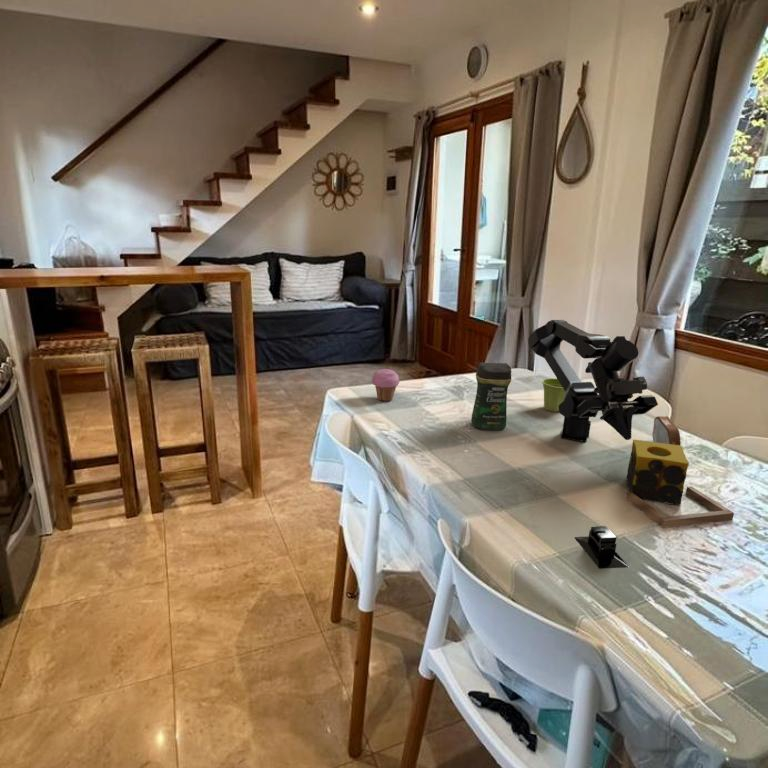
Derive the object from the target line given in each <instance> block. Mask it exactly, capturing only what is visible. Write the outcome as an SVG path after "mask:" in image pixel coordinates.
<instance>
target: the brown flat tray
mask: <svg viewBox="0 0 768 768" xmlns="http://www.w3.org/2000/svg"><path fill="white" fill-rule="evenodd" d="M685 494H686V495H688V496H690V497H691V498H693V499H694V500H696V501H697V502H699V503H700V504H702V505H703V506H705V507H707V508H708V509H709V510H711V511H707V512H697V513H690V514H679V515H670V516H665V515H663V514H662V513H661V512H659V511H658V510H656V509H655V508H654V507H652V505H649V504H648V503H647V502H646V501H645V500H644V499H640V498H639V497H638V496H636V495H635V494H634V493H632V492H629V491H627V492H626V495H625V500H626V499H627V502H629V503H630V502H631V504H632V505H633V506H634V505H635V506H634V507H636V508H637V509H638V510H639V509H640V510H639V511H641V512H642V511H643V512H644V514H645V515H646V516H647V517H648V518H650V519H651V520H653V521H654V522H655V523H656V524H657V525H659V526H660V527H662V528H671V527H678V526H679V527H680V526H688V525H696V524H697V525H698V524H706V523H715V522H723V521H730V520H731V521H732V520H733V518H734V515H735V512H733V511H732V510H730V509H729V508H727V507H726V506H723V504H721V503H719V502H717V501H716V500H715V499H713V498H711V497H709V495H706V494H705V493H704V492H702V491H700V490H699V489H697V488H695V487H693V486H692V485H691V486H686V489H685ZM643 512H642V513H643Z"/></svg>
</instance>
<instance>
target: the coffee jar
mask: <svg viewBox="0 0 768 768" xmlns="http://www.w3.org/2000/svg"><path fill="white" fill-rule="evenodd" d="M476 369H477V370H476V372H475V379H476V383H477V385H476V386H477V387H476V395H475V398H474V399H475V400H474V405H473V409H472V412H471V413H472V414H471V420H470V421H471V424H472V426H473V427H475V428H477V429H479V430H491V431H494V430H495V431H497V430H499V431H500V430H504V429H505V428H506V426H507V402H508V401H507V399H508V398H507V397H508V389H509V385H511V384H510V383H511V382H512V367H511V366H510V364H508V363H506V362H478V365H477V368H476Z"/></svg>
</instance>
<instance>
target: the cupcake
mask: <svg viewBox="0 0 768 768" xmlns="http://www.w3.org/2000/svg"><path fill="white" fill-rule="evenodd" d="M371 384H372V385H374V386H375V391H376V396H377V399H378V400H379V401H383V402H386V401H387V402H392V401H393V398H394V396H395V392H396V390H397V389H396V388H397V387H398V386H399V384H400V379H399V375H398V374H397V372H396V371H395V370H392V369H388V368H382V369H379V370H376V371H375V372H374V373H373V375H372V378H371Z"/></svg>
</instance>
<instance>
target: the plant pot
mask: <svg viewBox="0 0 768 768" xmlns="http://www.w3.org/2000/svg"><path fill="white" fill-rule="evenodd" d="M541 382H542V386H543V408H544V409H545V410H547V411H550V412H552V413H553V412H554V413H555V412H559V405H560V404H561V403H562V402H563V401H564V397H565V390H564V389H563V387H562V385H561V384H560V382H559V381H558V379H557V377H556V378H554V377H553V378H549V377H547V378H544V379H542V380H541Z"/></svg>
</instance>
